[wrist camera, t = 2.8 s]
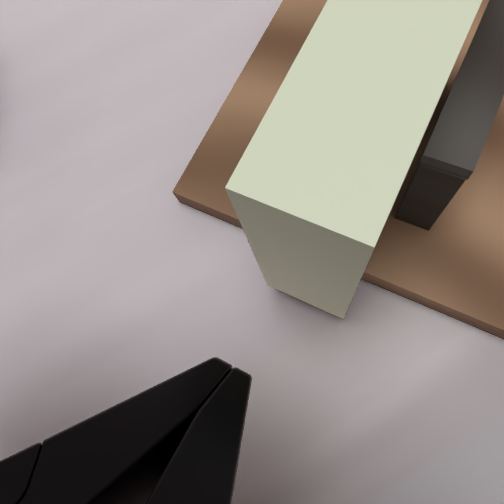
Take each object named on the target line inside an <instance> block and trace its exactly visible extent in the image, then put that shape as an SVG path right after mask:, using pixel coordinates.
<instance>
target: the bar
mask: <svg viewBox="0 0 504 504" xmlns="http://www.w3.org/2000/svg"><path fill="white" fill-rule="evenodd" d="M481 2H482V0H327V2H326V4H325V6H324V7H323V9H322V11H321V13H320V15H319V17H318V18H317V20H316V22H315V24H314V26H313V28H312V29H311V31H310V33H309V35H308V37H307V39H306V40H305V42H304V44H303V46H302V48H301V50H300V51H299V53H298V55H297V57H296V59H295V60H294V62H293V64H292V66H291V68H290V70H289V71H288V73H287V75H286V77H285V79H284V81H283V82H282V84H281V86H280V88H279V90H278V92H277V93H276V95H275V97H274V99H273V101H272V103H271V104H270V106H269V108H268V110H267V112H266V114H265V115H264V117H263V119H262V121H261V123H260V124H259V126H258V128H257V130H256V132H255V134H254V135H253V137H252V139H251V141H250V143H249V145H248V146H247V148H246V150H245V152H244V154H243V156H242V157H241V159H240V161H239V163H238V165H237V167H236V168H235V170H234V172H233V174H232V176H231V178H230V179H229V181H228V183H227V185H226V187H225V189H226V191H227V194H228V196H229V198H230V200H231V203H232V205H233V207H234V210H235V212H236V214H237V216H238V219H239V221H240V223H241V226H242V228H243V230H244V232H245V235H246V237H247V239H248V242H249V244H250V246H251V248H252V251H253V253H254V255H255V258H256V260H257V262H258V264H259V267H260V269H261V271H262V274H263V276H264V278H265V280H266V283H267V285H269V286H271V287H273V288H275V289H278V290H280V291H282V292H284V293H286V294H289V295H291V296H293V297H295V298H297V299H300V300H302V301H304V302H306V303H308V304H311V305H313V306H315V307H317V308H319V309H322V310H324V311H326V312H328V313H330V314H333V315H335V316H337V317H339V318H341V319H344V317H345V314H346V312H347V310H348V307H349V305H350V303H351V301H352V298H353V296H354V294H355V291H356V289H357V287H358V285H359V282H360V280H361V278H362V275H363V273H364V271H365V268H366V266H367V264H368V262H369V259H370V257H371V255H372V252H373V250H374V248H375V246H376V243H377V241H378V239H379V236H380V234H381V232H382V230H383V227H384V225H385V223H386V220H387V218H388V216H389V213H390V211H391V209H392V207H393V204H394V202H395V200H396V197H397V195H398V193H399V191H400V188H401V186H402V184H403V181H404V179H405V177H406V175H407V172H408V170H409V168H410V165H411V163H412V161H413V158H414V156H415V154H416V152H417V149H418V147H419V145H420V142H421V140H422V138H423V136H424V133H425V131H426V129H427V126H428V124H429V122H430V119H431V117H432V115H433V113H434V110H435V108H436V106H437V103H438V101H439V99H440V97H441V94H442V92H443V90H444V87H445V85H446V83H447V81H448V78H449V76H450V74H451V71H452V69H453V67H454V64H455V62H456V60H457V58H458V55H459V53H460V51H461V48H462V46H463V44H464V41H465V39H466V37H467V35H468V32H469V30H470V28H471V25H472V23H473V21H474V19H475V16H476V14H477V12H478V9H479V7H480V5H481Z"/></svg>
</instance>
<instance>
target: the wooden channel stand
mask: <svg viewBox="0 0 504 504" xmlns="http://www.w3.org/2000/svg"><path fill="white" fill-rule="evenodd" d="M326 2H327V0H283V2H282V3H281V5H280V7H279V8H278V10H277V12H276V14H275V15H274V17H273V19H272V21H271V22H270V24H269V26H268V27H267V29H266V31H265V33H264V34H263V36H262V38H261V40H260V41H259V43H258V45H257V46H256V48H255V50H254V52H253V53H252V55H251V57H250V59H249V60H248V62H247V64H246V66H245V67H244V69H243V71H242V72H241V74H240V76H239V78H238V79H237V81H236V83H235V85H234V86H233V88H232V90H231V91H230V93H229V95H228V97H227V98H226V100H225V102H224V104H223V105H222V107H221V109H220V110H219V112H218V114H217V116H216V117H215V119H214V121H213V123H212V124H211V126H210V128H209V130H208V131H207V133H206V135H205V136H204V138H203V140H202V142H201V143H200V145H199V147H198V149H197V150H196V152H195V154H194V155H193V157H192V159H191V161H190V162H189V164H188V166H187V168H186V169H185V171H184V173H183V174H182V176H181V178H180V180H179V181H178V183H177V185H176V187H175V188H174V190H173V193H174V195H175V196H176V198H177V199H178V200H179V202H181V203H183V204H186V205H188V206H191V207H193V208H195V209H198V210H200V211H202V212H205V213H207V214H209V215H212V216H214V217H217V218H219V219H221V220H224V221H226V222H228V223H231V224H233V225H235V226H238V227H240V228H242V226H241V223H240V221H239V219H238V216H237V214H236V212H235V210H234V207H233V205H232V203H231V200H230V198H229V196H228V194H227V191H226V189H225V187H226V185H227V183H228V181H229V179H230V178H231V176H232V174H233V172H234V170H235V168H236V167H237V165H238V163H239V161H240V159H241V157H242V156H243V154H244V152H245V150H246V148H247V146H248V145H249V143H250V141H251V139H252V137H253V135H254V134H255V132H256V130H257V128H258V126H259V124H260V123H261V121H262V119H263V117H264V115H265V114H266V112H267V110H268V108H269V106H270V104H271V103H272V101H273V99H274V97H275V95H276V93H277V92H278V90H279V88H280V86H281V84H282V82H283V81H284V79H285V77H286V75H287V73H288V71H289V70H290V68H291V66H292V64H293V62H294V60H295V59H296V57H297V55H298V53H299V51H300V50H301V48H302V46H303V44H304V42H305V40H306V39H307V37H308V35H309V33H310V31H311V29H312V28H313V26H314V24H315V22H316V20H317V18H318V17H319V15H320V13H321V11H322V9H323V7H324V6H325V4H326ZM361 279H363V280H366V281H368V282H370V283H373V284H375V285H377V286H380V287H382V288H385V289H387V290H389V291H392V292H394V293H396V294H399V295H401V296H403V297H406V298H408V299H411V300H413V301H415V302H418V303H420V304H422V305H425V306H427V307H430V308H432V309H434V310H437V311H439V312H441V313H444V314H446V315H448V316H451V317H453V318H456V319H458V320H460V321H463V322H465V323H467V324H470V325H472V326H474V327H477V328H479V329H482V330H484V331H486V332H489V333H491V334H493V335H496V336H498V337H501V338H503V339H504V0H482V2H481V5H480V7H479V9H478V12H477V14H476V16H475V19H474V21H473V23H472V25H471V28H470V30H469V32H468V35H467V37H466V39H465V41H464V44H463V46H462V48H461V51H460V53H459V55H458V58H457V60H456V62H455V64H454V67H453V69H452V71H451V74H450V76H449V78H448V81H447V83H446V85H445V87H444V90H443V92H442V94H441V97H440V99H439V101H438V103H437V106H436V108H435V110H434V113H433V115H432V117H431V119H430V122H429V124H428V126H427V129H426V131H425V133H424V136H423V138H422V140H421V142H420V145H419V147H418V149H417V152H416V154H415V156H414V158H413V161H412V163H411V165H410V168H409V170H408V172H407V175H406V177H405V179H404V181H403V184H402V186H401V188H400V191H399V193H398V195H397V197H396V200H395V202H394V204H393V207H392V209H391V211H390V213H389V216H388V218H387V220H386V223H385V225H384V227H383V230H382V232H381V234H380V236H379V239H378V241H377V243H376V246H375V248H374V250H373V252H372V255H371V257H370V259H369V262H368V264H367V266H366V268H365V271H364V273H363V275H362V278H361Z"/></svg>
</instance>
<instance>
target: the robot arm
mask: <svg viewBox="0 0 504 504" xmlns="http://www.w3.org/2000/svg"><path fill="white" fill-rule="evenodd" d="M251 381H252V377H251V375H250V374H248V373H246V372H244V371H242V370H240V369H238V368H232V366H231V365H230V364H229V363H227V362H225V361H223V360H221V359H219V358H216V357H215V358H211V359H209V360H207V361H205V362H203V363H201V364H199V365H197V366H195V367H193V368H191V369H189V370H187V371H185V372H183V373H181V374H178V375H176V376H174V377H172V378H170V379H168V380H166V381H164V382H162V383H160V384H158V385H156V386H154V387H152V388H150V389H148V390H146V391H144V392H142V393H140V394H138V395H136V396H134V397H131V398H129V399H127V400H125V401H123V402H121V403H119V404H117V405H115V406H113V407H111V408H109V409H107V410H105V411H103V412H101V413H99V414H97V415H95V416H93V417H91V418H89V419H87V420H85V421H82V422H80V423H78V424H76V425H74V426H72V427H70V428H68V429H66V430H64V431H62V432H60V433H58V434H56V435H54V436H52V437H50V438H48V439H46V440H44V441H43V444H41V443H37V444H35V445H33V446H31V447H29V448H27V449H25V450H23V451H21V452H19V453H17V454H15V455H12V456H10V457H8V458H6V459H4V460H2V461H0V504H231V501H232V495H233V489H234V483H235V477H236V471H237V465H238V459H239V453H240V447H241V441H242V435H243V429H244V423H245V417H246V411H247V405H248V399H249V393H250V387H251Z"/></svg>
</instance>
